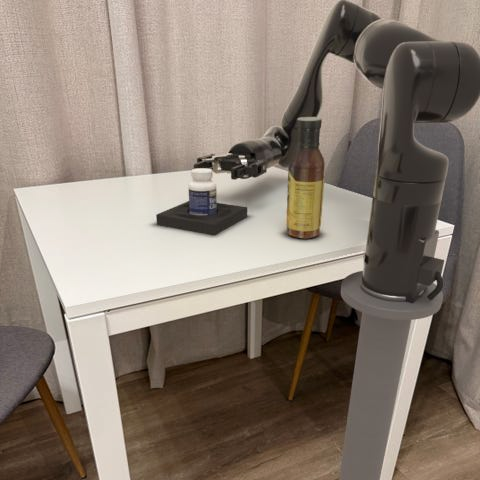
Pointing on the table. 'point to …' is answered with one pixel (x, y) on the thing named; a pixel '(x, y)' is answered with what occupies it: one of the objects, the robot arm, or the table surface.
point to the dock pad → (202, 218)
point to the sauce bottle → (305, 181)
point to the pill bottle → (202, 192)
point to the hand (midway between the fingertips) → (213, 171)
